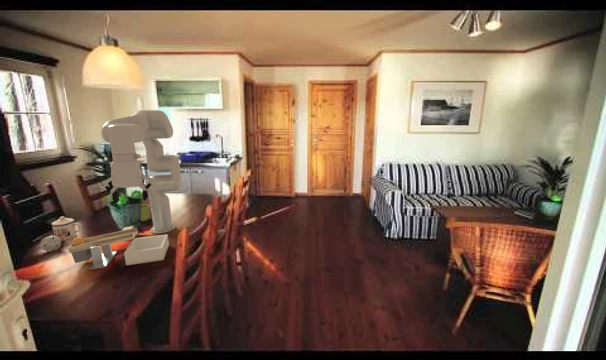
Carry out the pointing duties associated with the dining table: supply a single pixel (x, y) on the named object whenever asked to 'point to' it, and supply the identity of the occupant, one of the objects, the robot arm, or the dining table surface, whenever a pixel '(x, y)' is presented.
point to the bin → (146, 249)
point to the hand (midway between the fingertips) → (131, 200)
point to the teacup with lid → (65, 228)
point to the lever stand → (101, 256)
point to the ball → (77, 241)
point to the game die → (50, 243)
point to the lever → (100, 243)
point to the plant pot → (144, 212)
